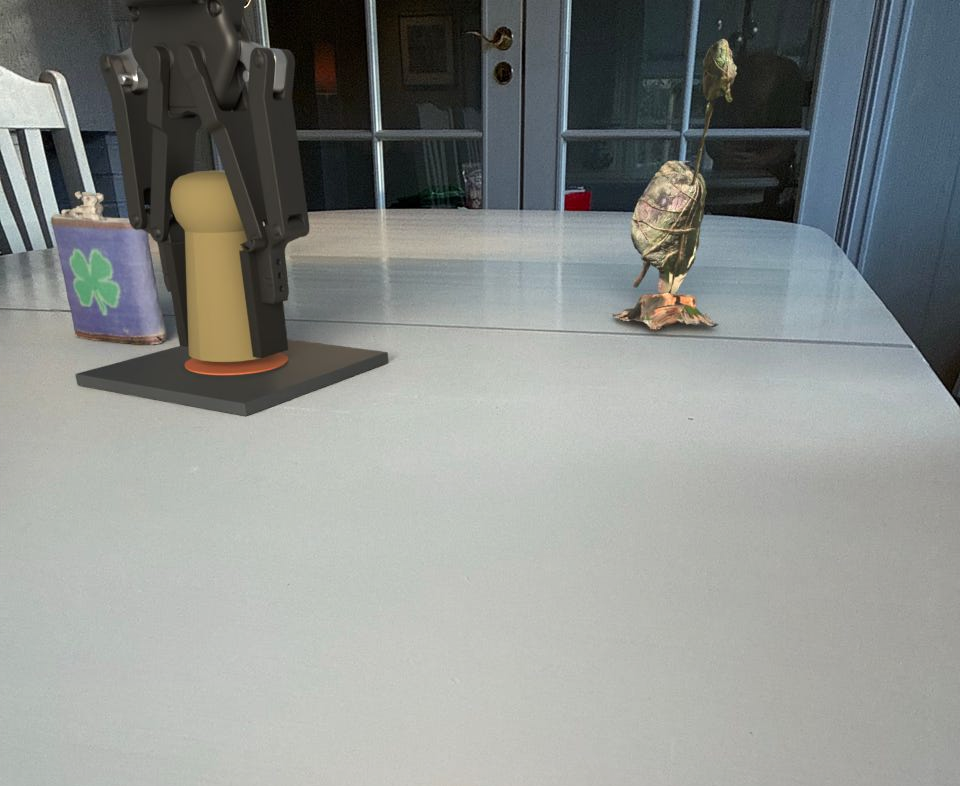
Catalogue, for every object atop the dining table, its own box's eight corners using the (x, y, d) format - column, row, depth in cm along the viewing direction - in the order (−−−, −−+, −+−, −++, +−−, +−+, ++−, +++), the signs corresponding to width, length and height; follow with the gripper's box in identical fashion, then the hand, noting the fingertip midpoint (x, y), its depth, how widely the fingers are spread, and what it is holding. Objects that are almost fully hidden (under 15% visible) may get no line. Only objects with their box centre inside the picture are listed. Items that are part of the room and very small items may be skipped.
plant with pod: (693, 309, 81) (722, 45, 71) (725, 336, 71) (763, 34, 61) (604, 311, 81) (620, 46, 71) (624, 338, 71) (645, 35, 61)
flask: (174, 340, 72) (147, 191, 67) (147, 347, 70) (117, 194, 64) (92, 330, 76) (60, 188, 70) (64, 337, 73) (29, 191, 68)
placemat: (77, 385, 60) (73, 372, 60) (233, 341, 71) (232, 330, 71) (245, 416, 54) (243, 401, 53) (389, 363, 65) (388, 350, 64)
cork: (253, 337, 66) (231, 167, 60) (294, 352, 61) (275, 172, 56) (174, 349, 62) (143, 171, 57) (212, 366, 58) (183, 176, 53)
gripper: (351, -85, 49) (378, 352, 60) (110, -56, 57) (175, 324, 69) (257, -109, 43) (306, 377, 55) (4, -74, 51) (95, 343, 63)
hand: (233, 347), depth 62 cm, fingers closed on cork, 6 cm apart
